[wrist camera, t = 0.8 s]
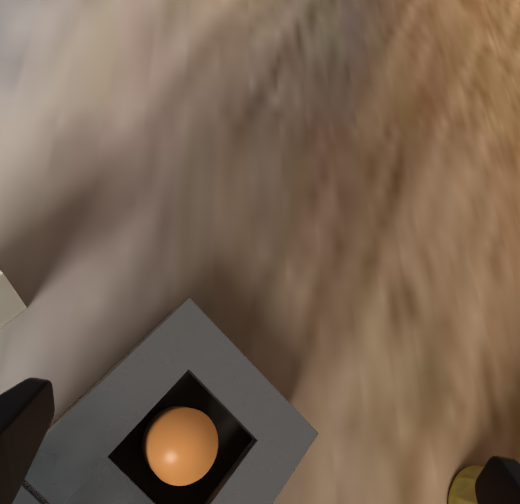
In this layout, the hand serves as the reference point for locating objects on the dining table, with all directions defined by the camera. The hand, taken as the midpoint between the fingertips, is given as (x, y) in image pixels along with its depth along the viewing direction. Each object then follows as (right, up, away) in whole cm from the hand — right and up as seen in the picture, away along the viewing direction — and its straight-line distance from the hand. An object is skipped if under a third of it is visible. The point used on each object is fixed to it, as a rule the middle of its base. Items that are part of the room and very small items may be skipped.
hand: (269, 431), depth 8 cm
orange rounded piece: (-5, -6, +13) cm, 15 cm away
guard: (-5, -7, +15) cm, 17 cm away
